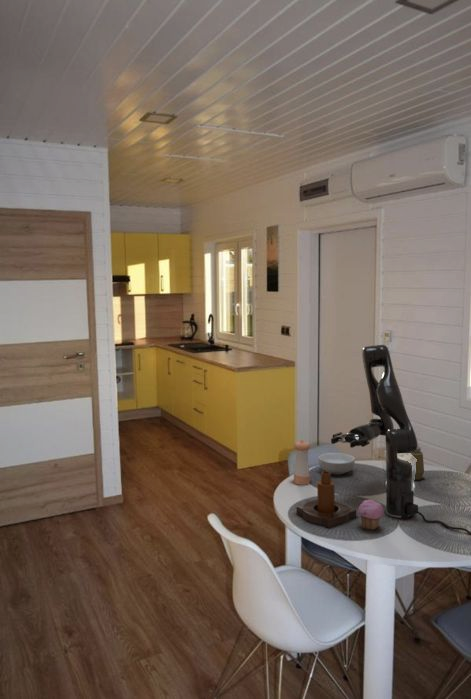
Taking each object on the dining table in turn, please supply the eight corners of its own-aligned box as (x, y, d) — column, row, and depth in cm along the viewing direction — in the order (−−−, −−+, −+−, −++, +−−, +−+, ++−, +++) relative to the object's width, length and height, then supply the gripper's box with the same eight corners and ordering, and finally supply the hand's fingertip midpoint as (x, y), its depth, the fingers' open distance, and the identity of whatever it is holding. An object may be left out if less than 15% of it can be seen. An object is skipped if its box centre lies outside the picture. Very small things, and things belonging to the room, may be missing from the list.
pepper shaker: (305, 478, 263) (305, 437, 261) (313, 483, 256) (312, 441, 254) (291, 480, 260) (290, 439, 258) (298, 485, 253) (298, 443, 251)
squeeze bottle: (402, 476, 263) (402, 437, 261) (417, 474, 266) (417, 436, 264) (412, 481, 256) (413, 442, 254) (428, 479, 258) (428, 440, 256)
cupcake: (364, 520, 214) (364, 495, 213) (386, 526, 210) (386, 499, 208) (354, 529, 207) (354, 502, 206) (377, 534, 202) (378, 507, 201)
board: (360, 516, 218) (360, 509, 218) (327, 529, 207) (327, 521, 207) (324, 503, 233) (324, 496, 232) (292, 514, 221) (292, 507, 221)
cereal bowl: (347, 480, 259) (347, 464, 259) (313, 474, 268) (312, 459, 267) (359, 469, 274) (359, 455, 273) (327, 464, 282) (327, 450, 282)
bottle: (337, 515, 220) (338, 472, 218) (326, 520, 216) (326, 476, 214) (325, 511, 225) (325, 468, 223) (314, 515, 221) (313, 472, 219)
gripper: (347, 423, 242) (325, 431, 230) (377, 428, 232) (357, 436, 220) (346, 440, 243) (325, 449, 230) (377, 446, 233) (357, 455, 221)
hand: (341, 443), depth 225 cm, fingers open, 8 cm apart
